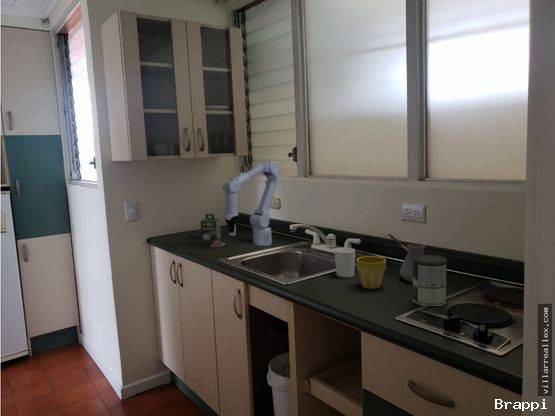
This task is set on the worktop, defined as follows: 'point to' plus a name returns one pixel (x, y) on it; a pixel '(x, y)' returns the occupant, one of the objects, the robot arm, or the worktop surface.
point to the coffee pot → (409, 258)
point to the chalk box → (210, 228)
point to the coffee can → (429, 280)
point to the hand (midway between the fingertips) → (232, 231)
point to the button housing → (217, 245)
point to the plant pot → (371, 270)
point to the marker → (233, 233)
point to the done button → (218, 242)
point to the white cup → (345, 262)
